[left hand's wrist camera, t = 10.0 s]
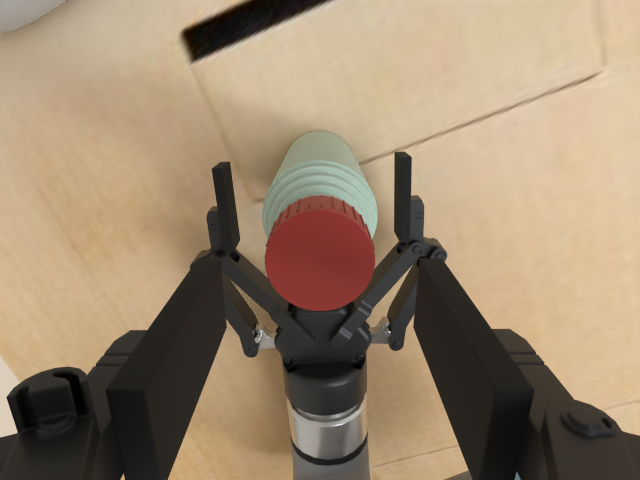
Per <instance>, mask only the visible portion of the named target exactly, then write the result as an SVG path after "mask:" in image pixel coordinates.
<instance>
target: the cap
mask: <svg viewBox="0 0 640 480" xmlns="http://www.w3.org/2000/svg"><path fill="white" fill-rule="evenodd" d="M266 247H267V249H266V254H265V266H266V272H267V275H268V278H269V280H270V282H271V284H272V286H273V287H274V289H275V290H276V291H277V292H278V293H279V294H280V295H281V296H282V297H283V298H284V299H285V300H287V301H288V302H290V303H291V304H293V305H295V306H298V307H300V308H303V309H307V310H313V311H327V310H333V309H337V308H340V307H342V306H345V305H347V304H349V303H350V302H352V301H353V300H355V299H356V298H357V297H358V296H359V295H360V294H361V293H362V292H363V291H364V290H365V289H366V287H367V286H368V284H369V282H370V280H371V278H372V275H373V272H374V266H375V254H374V250H375V248H374V245H373V242H372V239H371V235H370V232H369V229H368V226H367V224H365V222H364V220H363V218H362V215H361V214H359V213H358V212H357V211H356V210H355V208H354V206H351V205H349V204H348V203H346V202H345V200H343V201H342V200H340V199H338V198H334V196H332V197H330V196H323V195H322V194H321V195H318V196H311V195H309V197H305V198H302V199H298V201H296V202H294V203H292V204H291V205H290V204H289V205H288V207H287V208H286V209H285V210H284V211H283V212H280V215H279V217H278V219H277V220H276V221H274V224H273V227H272V230H271V232H270V235H269V238H268V241H267V244H266Z"/></svg>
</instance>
